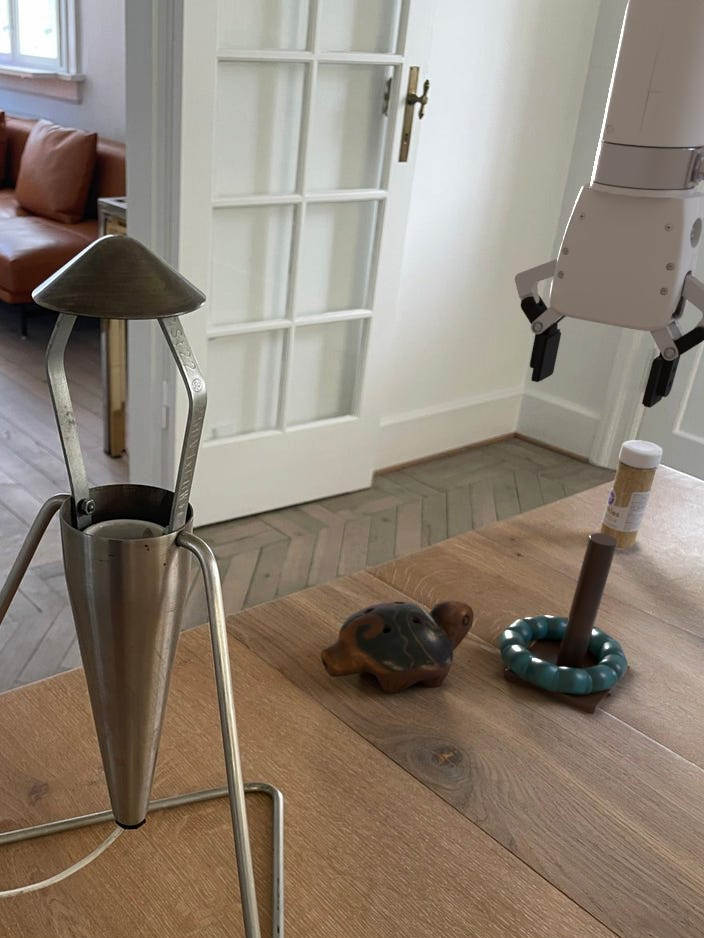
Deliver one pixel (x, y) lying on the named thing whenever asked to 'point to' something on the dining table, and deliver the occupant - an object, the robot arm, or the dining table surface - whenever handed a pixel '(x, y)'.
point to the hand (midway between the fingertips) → (595, 390)
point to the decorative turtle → (400, 643)
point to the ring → (556, 676)
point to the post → (579, 626)
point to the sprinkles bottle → (630, 491)
